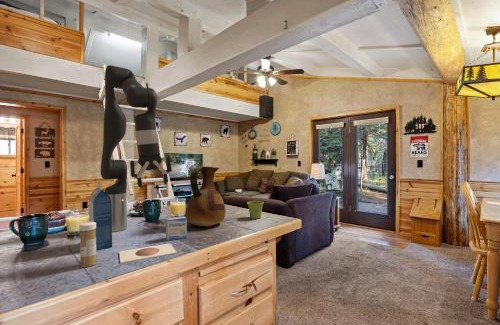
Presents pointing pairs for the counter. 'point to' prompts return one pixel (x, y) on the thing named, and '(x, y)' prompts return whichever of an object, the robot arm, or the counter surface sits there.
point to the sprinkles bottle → (88, 244)
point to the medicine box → (176, 228)
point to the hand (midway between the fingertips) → (153, 185)
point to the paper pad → (146, 253)
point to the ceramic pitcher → (204, 199)
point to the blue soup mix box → (101, 217)
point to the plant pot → (255, 209)
